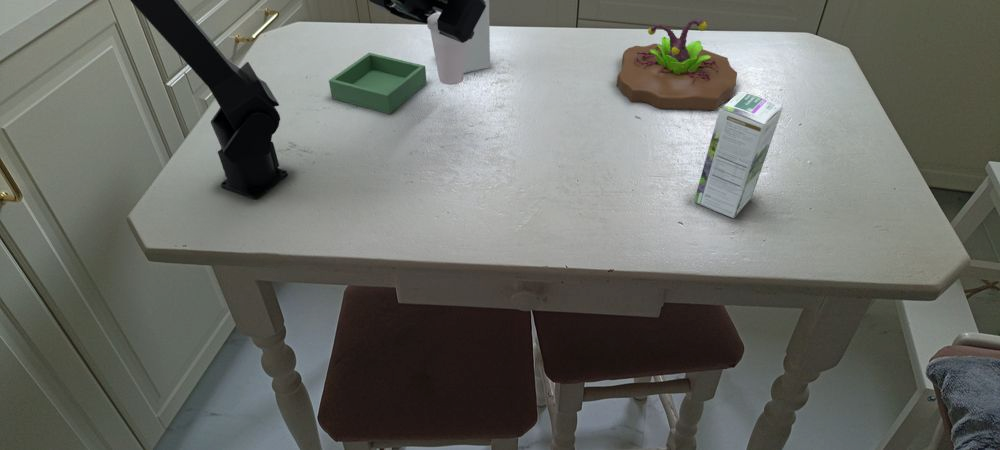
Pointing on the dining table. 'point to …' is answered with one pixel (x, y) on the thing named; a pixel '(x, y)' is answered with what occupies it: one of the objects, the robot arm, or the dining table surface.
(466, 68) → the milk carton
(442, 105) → the dining table surface
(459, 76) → the smoothie
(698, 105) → the plant
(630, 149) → the dining table surface
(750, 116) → the syrup box
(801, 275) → the dining table surface
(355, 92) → the caddy
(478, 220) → the dining table surface
